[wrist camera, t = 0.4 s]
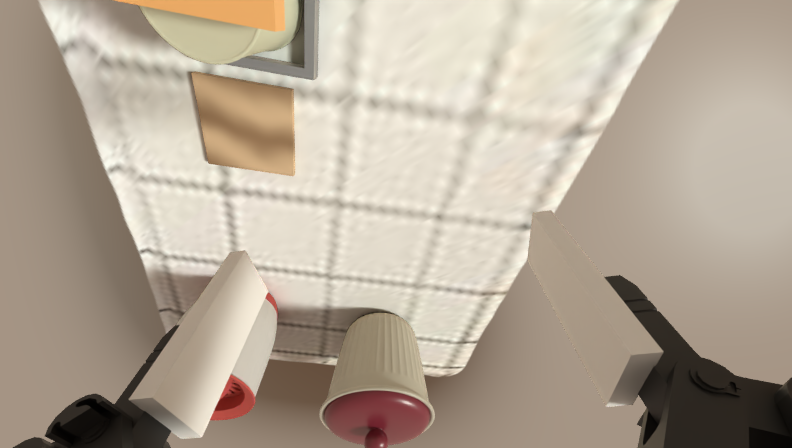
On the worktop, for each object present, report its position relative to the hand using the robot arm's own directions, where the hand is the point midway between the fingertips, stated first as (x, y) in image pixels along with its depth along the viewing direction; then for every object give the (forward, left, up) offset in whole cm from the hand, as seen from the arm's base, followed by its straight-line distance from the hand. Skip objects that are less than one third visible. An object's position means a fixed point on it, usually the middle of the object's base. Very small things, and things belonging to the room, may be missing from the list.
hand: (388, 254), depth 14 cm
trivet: (+5, -17, -28) cm, 33 cm away
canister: (+43, +5, -28) cm, 51 cm away
